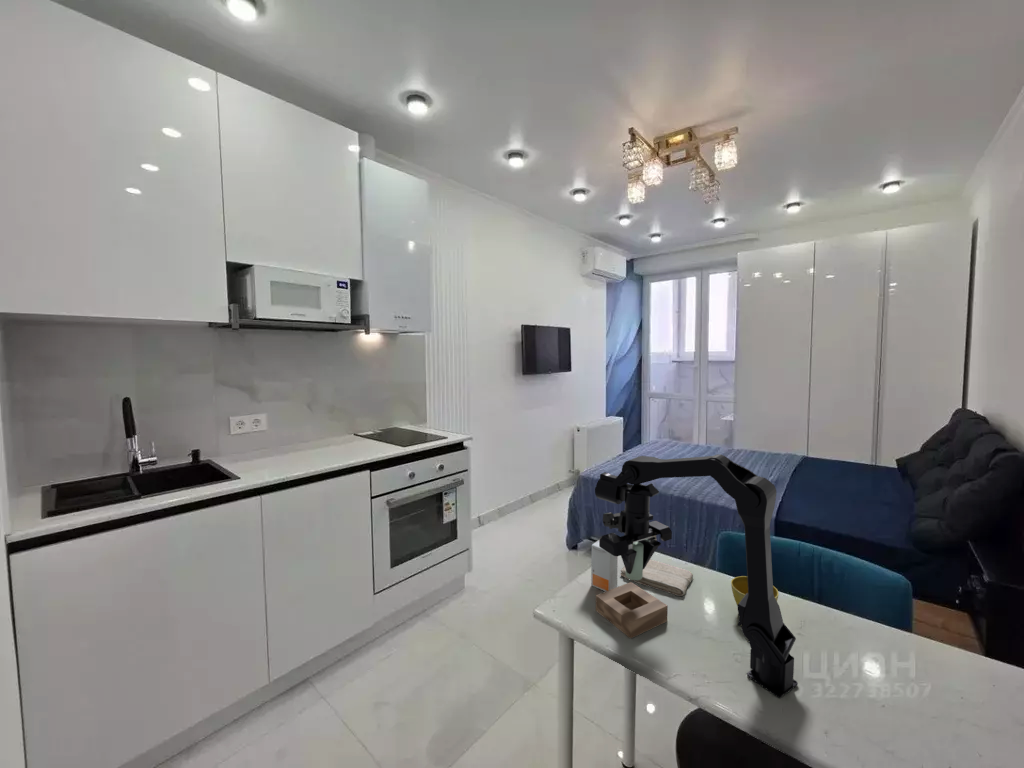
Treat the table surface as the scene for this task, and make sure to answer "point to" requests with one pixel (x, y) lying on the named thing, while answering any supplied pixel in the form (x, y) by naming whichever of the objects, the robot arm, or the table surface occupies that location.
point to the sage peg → (637, 563)
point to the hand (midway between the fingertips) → (635, 570)
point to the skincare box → (603, 568)
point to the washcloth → (664, 577)
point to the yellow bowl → (744, 588)
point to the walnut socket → (631, 609)
